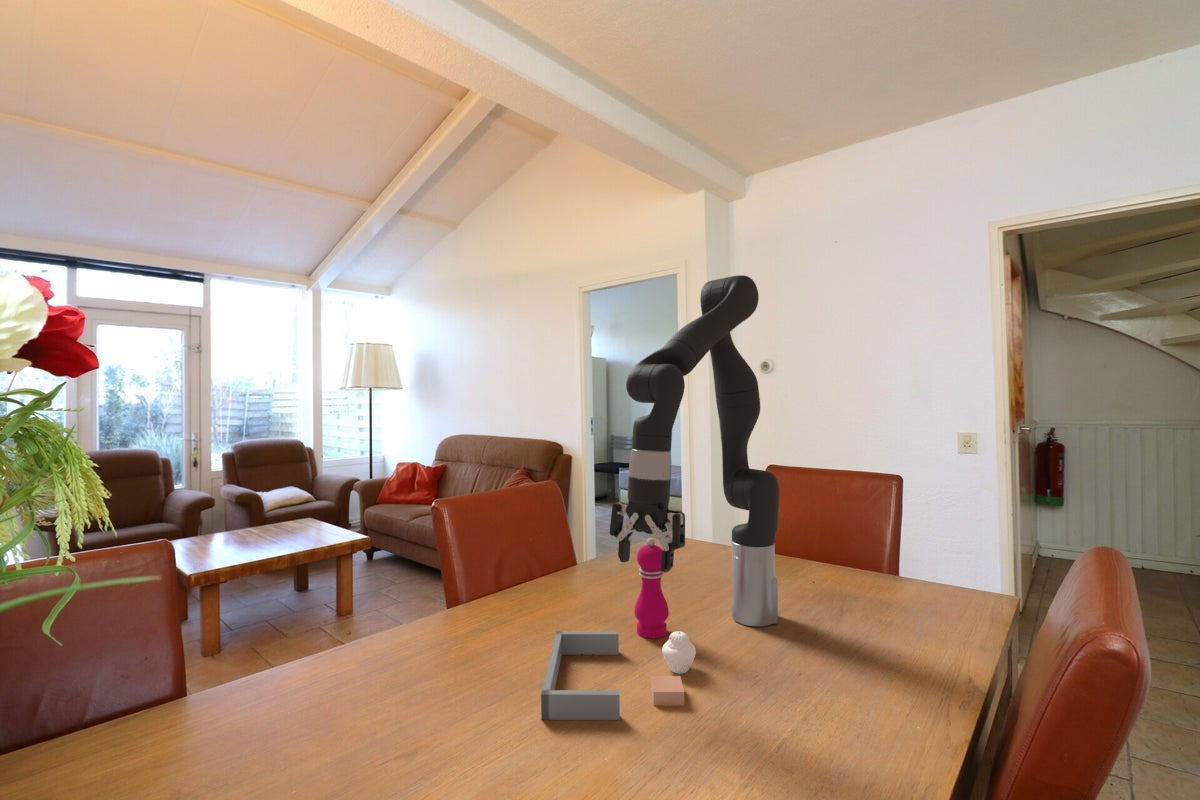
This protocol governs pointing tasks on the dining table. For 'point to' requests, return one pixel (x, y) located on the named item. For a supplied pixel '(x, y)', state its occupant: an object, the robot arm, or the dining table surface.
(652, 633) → the pepper mill
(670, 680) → the block
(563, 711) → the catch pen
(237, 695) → the dining table surface
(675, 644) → the white rounded ceramic piece
